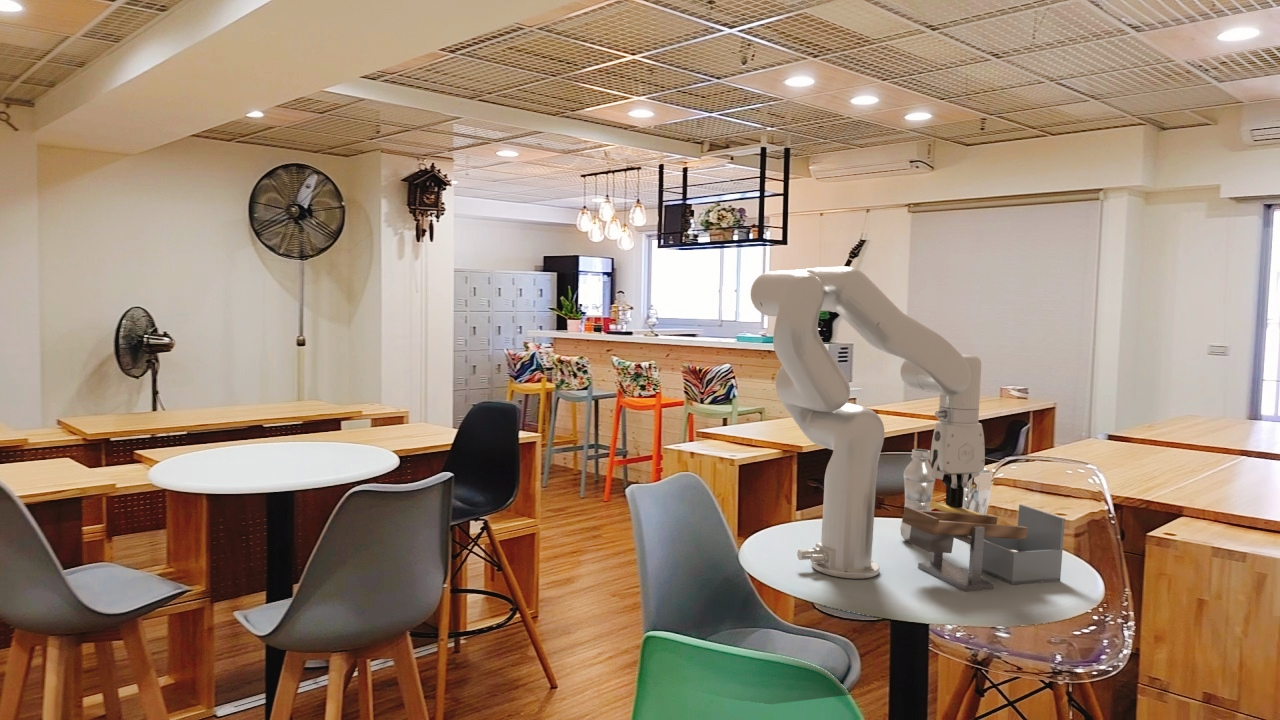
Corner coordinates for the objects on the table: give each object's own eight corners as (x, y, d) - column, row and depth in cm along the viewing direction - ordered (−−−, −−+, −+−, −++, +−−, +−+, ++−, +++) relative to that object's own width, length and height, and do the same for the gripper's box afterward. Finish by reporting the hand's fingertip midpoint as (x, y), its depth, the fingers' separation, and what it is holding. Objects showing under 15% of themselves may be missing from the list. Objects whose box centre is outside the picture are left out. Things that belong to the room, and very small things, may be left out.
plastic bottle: (928, 548, 185) (934, 454, 183) (896, 542, 188) (901, 450, 186) (934, 541, 190) (940, 450, 189) (903, 536, 193) (908, 446, 192)
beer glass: (952, 536, 194) (956, 470, 193) (956, 530, 201) (961, 465, 200) (985, 542, 191) (990, 474, 190) (989, 535, 197) (993, 469, 196)
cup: (1011, 584, 162) (1016, 521, 161) (971, 566, 173) (975, 506, 172) (1060, 580, 166) (1064, 518, 165) (1017, 563, 176) (1021, 504, 175)
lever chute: (929, 554, 157) (934, 518, 157) (869, 526, 175) (874, 494, 175) (1022, 559, 164) (1028, 525, 164) (956, 532, 182) (960, 501, 182)
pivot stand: (965, 591, 157) (970, 530, 156) (917, 567, 170) (921, 511, 170) (993, 589, 159) (997, 528, 158) (943, 565, 172) (947, 509, 171)
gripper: (939, 419, 169) (934, 513, 171) (1002, 417, 174) (997, 508, 176) (915, 414, 177) (911, 503, 178) (976, 412, 181) (972, 499, 183)
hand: (954, 505), depth 177 cm, fingers closed
